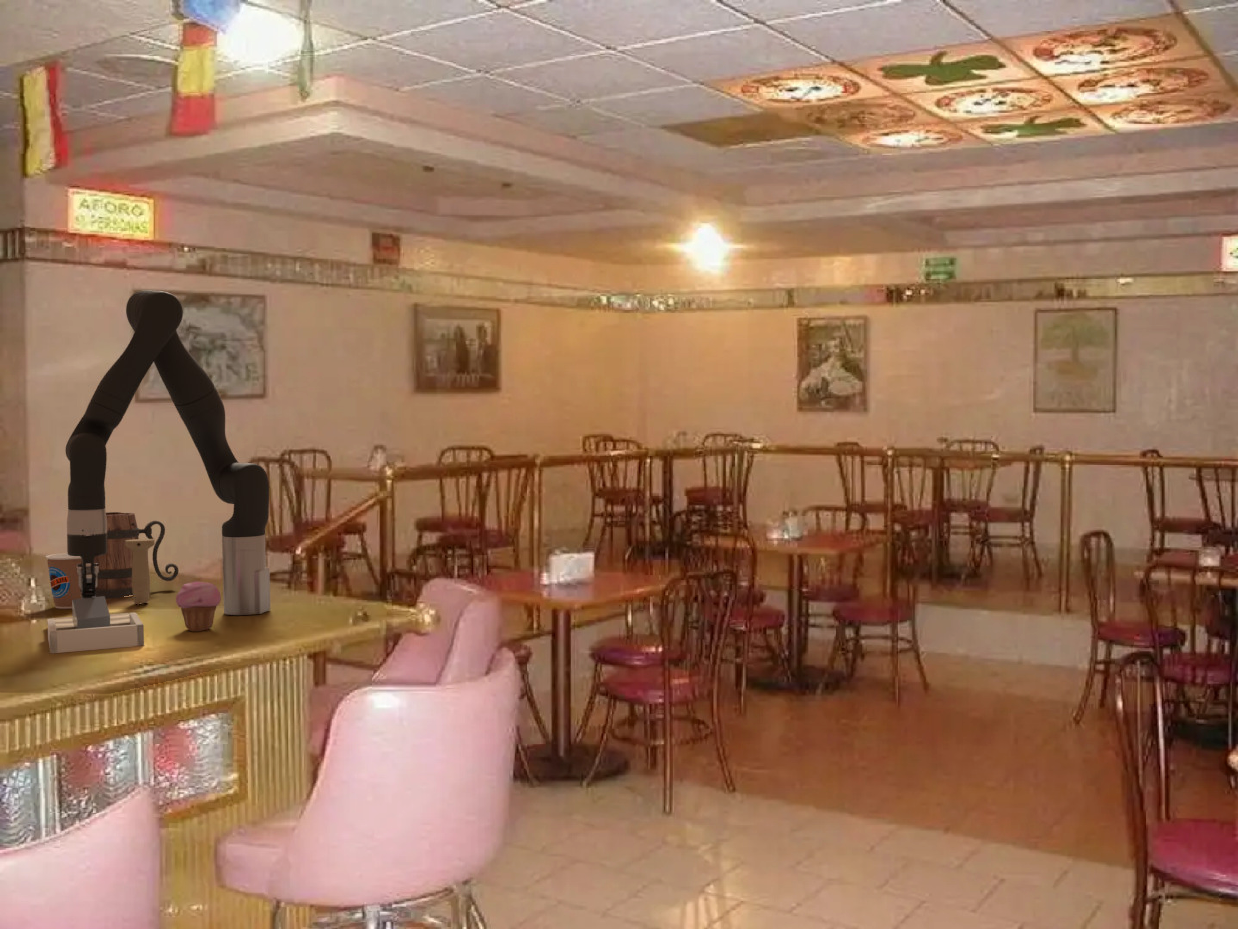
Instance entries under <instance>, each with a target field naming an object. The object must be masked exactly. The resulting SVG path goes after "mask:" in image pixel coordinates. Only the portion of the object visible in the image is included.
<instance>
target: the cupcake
mask: <svg viewBox="0 0 1238 929" xmlns="http://www.w3.org/2000/svg"><path fill="white" fill-rule="evenodd" d="M175 597H176V598H175V603H176V605H177V606H178V607H179V608H180V610H181V615H182V618H183V620H184V624H185V625H184V626H185V627H186V629H188V631H189V632H196V633H197V632H202V631H208V630H209V629H211V628H212V627H213V625H214V620H215V613H216V609H217V606H219V604H221V592H220V590H219V588H218V587H217V586H216V585H215V584H214V583H211V582H203V581H199V580H198V581H197V580H195V581H193V582H189V583H188V582H187V583H184V584H183V585H182V587H181V589H180V590H179V592H178V593H176V596H175Z"/></svg>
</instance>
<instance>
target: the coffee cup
mask: <svg viewBox="0 0 1238 929" xmlns="http://www.w3.org/2000/svg"><path fill="white" fill-rule="evenodd" d="M45 558H46V559H47V561H46V562H47V567H48V574H49V582H50V587H51V588H50V589H51V595H52V599H53V603H54V607H55V608H56V609H61V610H62V609H63V610H64V609H65V610H67V609H69V610H70V609H72V600H74V599H82V597H81V588H80V587H79V574H78V572H77V564H81V557H80V556H70V555H68V553H67V552H64V553H54V554H48V555H45Z"/></svg>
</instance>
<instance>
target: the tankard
mask: <svg viewBox="0 0 1238 929" xmlns="http://www.w3.org/2000/svg"><path fill="white" fill-rule="evenodd" d="M106 517H107V553H106V554H104V555H97V556H95V557H94V563H98V565H99V572H98V574H97V587H95V592H96V597H101V596H105V600H110V599H111V600H112V599H121V598H120V597H124V596H129V595H133V590H132V559H133V554H132V550H131V549H130V548H128V547H126V546H125V540H133V539H140V537H139V536H140V534H145V536H146V539H154V536H152V533H153V530H152V529H153V528H152V527H153V526H155V525H158V526H159V527H160V532H159V534H158V537H157V539H156V541H155V542H154V545H153V548H152V549H153V550H152V565H153V567H154V572H155V573H156V574H157V576H158V577H159V578H160V579H161V580H163V581H165V582H171V581H174V580H175V579H176V578H177V576H178V575H179V567H178V566H177V565H176V564H175V563H168V564H166V565H165V568H164V570H165V572H166V573H167V574H168V575H171V576H168V577H167V576H164V575H163V574H162V573H161V570H160V567H159V564H158V550H159V547H160V545H161V544H162V541H163V539H164V537H165V533H166V527H165V524H164V523H162V522H161V521H160V520H152V521H150V522H148V523H147V524H146V525H145V526H144V528H139V527H138V523H137V518H136V515H135V513H133V512H121V511H120V512H116V511H114V512H112V511H110V512H106ZM170 568H174V571H173V574H172V571H169V569H170Z"/></svg>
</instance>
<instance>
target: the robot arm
mask: <svg viewBox="0 0 1238 929" xmlns="http://www.w3.org/2000/svg"><path fill="white" fill-rule="evenodd" d="M125 306H126V307H125V313H126V318H127V320H128V321H127V322H128V324H129V326H130V327H131V328H132V330H133V332H134V333H133V335H132V337H131V339H130V341H129V343H128V344H127V346H126V348H125V349H124V351H123V352H122V353H121V355H120V356H119V357H118V358H117V360H115V362H114V363H113V364H112V366H111V367H110V368H109V369H108V370H107V371H106V373H105V374H104V375H103V377H102V378H101V380H100V381H99V383H98V385H97V387H96V389H95V390H94V392H93V394H92V396H91V399H90V400H89V403H88V405H87V408H86V409H85V412H84V414H83V416H82V417H81V418H80V419H79V422H78V423H77V425H76V426H75V427H74V429H73V431H72V433H71V435H70V437H69V439H68V441H67V442H66V446H65V456H66V458H67V460H68V461H69V476H70V482H69V484H68V488H67V517H66V548H67V550H66V553H68V555H70V556H80V557H81V564H77V572H78V574H79V587H80V588H81V597H82V599H83V598H92V597H96V592H95V587H97V574H98V572H99V565H98V563H94V557H95V556H97V555H104V554H106V553H107V517H106V513H107V509H106V489H105V488H106V487H105V481H106V472H107V460H108V458H107V454H108V453H107V444H108V441H109V440H110V437H111V435H112V433H113V432H114V430H115V429H117V428H118V426H119V425H120V423H121V421H122V420H123V419H124V416H125V414H126V413H127V410H128V409H129V406H130V405H131V402H132V401H133V398H134V396H135V395H136V392H137V391H138V389H139V387H140V385H141V383H142V381H143V380H144V378H145V376H146V374H147V373H148V371H149V370H150V368H151V367H152V365H153V363H154V365H155V368H156V370H157V372H158V374H159V377H160V378H161V380H162V382H163V385H164V386H165V388H166V391H167V392H168V395H169V397H170V399H171V401H172V403H173V406H174V407H175V409H176V411H177V413H178V414H179V417H180V419H181V420H182V422H183V424H184V425H185V427H186V430H187V431H188V433H189V435H190V437H191V440H192V441H193V444H194V446H195V448H196V449H197V451H198V454H199V456H200V458H201V461H202V463H203V465H204V467H205V471H206V474H207V476H208V479H209V482H210V484H211V486H212V489H213V491H214V493H215V494H216V496H217V497H218V498H219V499H220V501H222V502H224V503H226V504H230V505H233V512H232V516H231V517H230V518H229V519H228V520H226V521H225V522H223V523H222V525H221V543H222V544H221V548H222V552H221V554H222V584H223V585H222V587H223V588H222V589H223V590H222V591H223V592H222V594H223V614H225V615H231V616H245V615H247V616H248V615H261V614H264V613H266V612H268V611H270V610H271V584H270V583H271V582H270V581H271V579H270V578H271V577H270V573H271V572H270V568H269V567H267V559H266V556H267V555H266V554H267V553H266V526H267V524H268V521H269V516H270V515H269V514H270V510H269V509H270V481H269V477H268V474H267V472H266V470H265V469H264V468H263V467H262V465H259V464H257V463H253V462H252V463H251V462H249V463H248V462H247V463H246V462H239V461H238V460H237V458H236V457H235V455H234V453H233V450H232V449H231V447H230V445H229V443H228V439H227V436H226V411H225V406H224V402H223V400H222V398H221V396H220V394H219V392H218V390H217V388H216V386H215V384H214V382H213V380H212V379H211V377H210V376H209V375H208V374H207V372H206V370H204V368H203V367H202V366H201V364H200V363H199V362H198V361H197V360H196V359H195V357H194V356H193V355H192V354H191V353H190V352H189V351H188V350H187V348H186V347H185V345H184V344H183V342H182V340H181V338H180V336H179V333H178V332H177V329H178V328H179V327H180V324H182V320H183V315H184V312H183V309H184V308H183V306H182V303H181V302H180V300H179V298H177V296H175V295H174V294H172V293H170V292H167V291H164V290H163V291H162V290H153V289H152V290H151V289H144V290H143V289H142V290H138V291H136V292H134V293H133V294H131V296H130V297H129V298H128V300H127V302H126V305H125Z"/></svg>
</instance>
